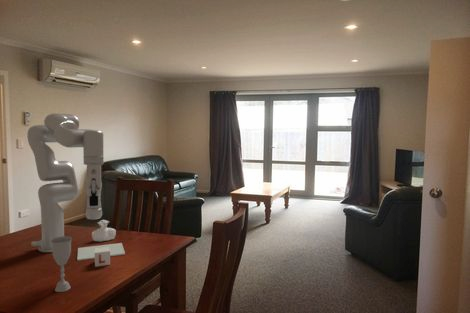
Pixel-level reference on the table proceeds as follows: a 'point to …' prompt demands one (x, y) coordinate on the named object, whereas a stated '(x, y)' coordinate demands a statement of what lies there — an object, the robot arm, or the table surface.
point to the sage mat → (89, 252)
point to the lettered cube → (102, 256)
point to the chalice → (61, 258)
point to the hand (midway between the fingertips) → (93, 203)
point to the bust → (103, 232)
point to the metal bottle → (93, 211)
